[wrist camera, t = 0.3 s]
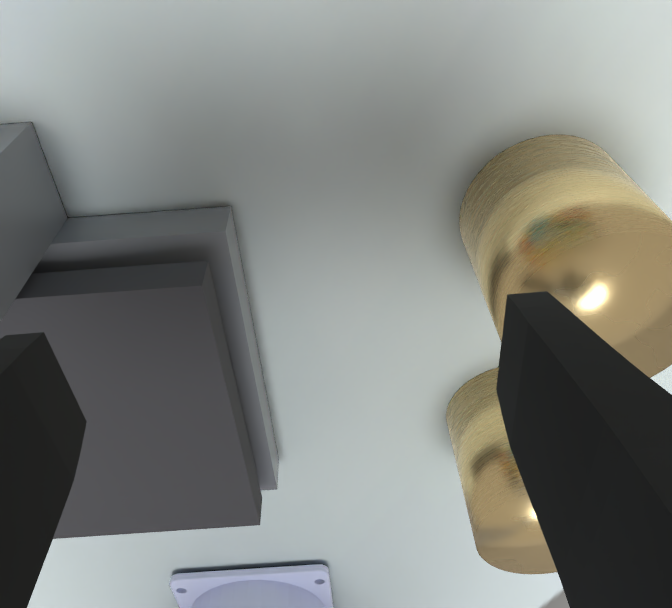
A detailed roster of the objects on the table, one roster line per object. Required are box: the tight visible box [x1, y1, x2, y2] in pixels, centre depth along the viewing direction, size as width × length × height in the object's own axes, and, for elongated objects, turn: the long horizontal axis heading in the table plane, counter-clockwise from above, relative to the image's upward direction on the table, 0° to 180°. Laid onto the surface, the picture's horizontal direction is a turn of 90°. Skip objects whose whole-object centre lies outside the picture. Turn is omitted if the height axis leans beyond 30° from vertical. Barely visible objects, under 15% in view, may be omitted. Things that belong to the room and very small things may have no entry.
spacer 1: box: [446, 367, 557, 574], centre depth 22 cm, size 5×5×6 cm
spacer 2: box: [459, 135, 672, 378], centre depth 17 cm, size 5×5×6 cm
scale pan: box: [0, 261, 262, 539], centre depth 20 cm, size 11×15×1 cm
